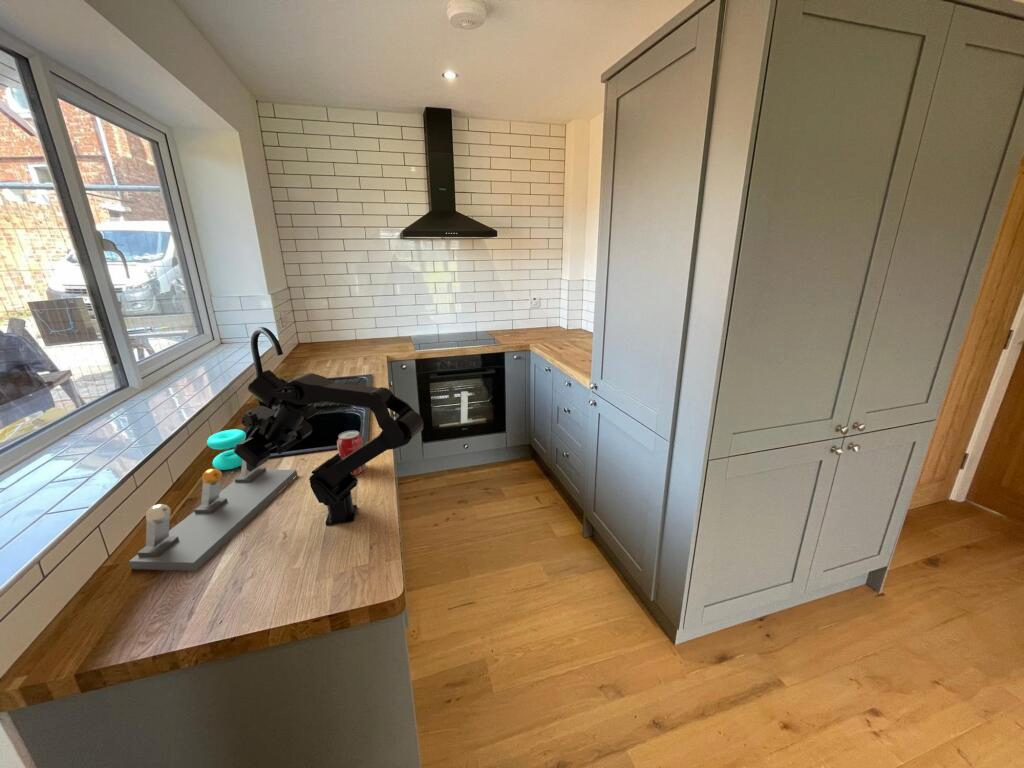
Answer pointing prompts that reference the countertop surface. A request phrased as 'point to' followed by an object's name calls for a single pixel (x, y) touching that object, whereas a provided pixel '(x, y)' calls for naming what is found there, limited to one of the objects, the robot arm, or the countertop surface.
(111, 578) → the countertop surface
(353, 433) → the soda can
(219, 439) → the donuts
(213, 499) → the orange lever
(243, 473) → the grey paddle
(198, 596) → the countertop surface
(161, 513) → the cream lever
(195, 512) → the switch panel
